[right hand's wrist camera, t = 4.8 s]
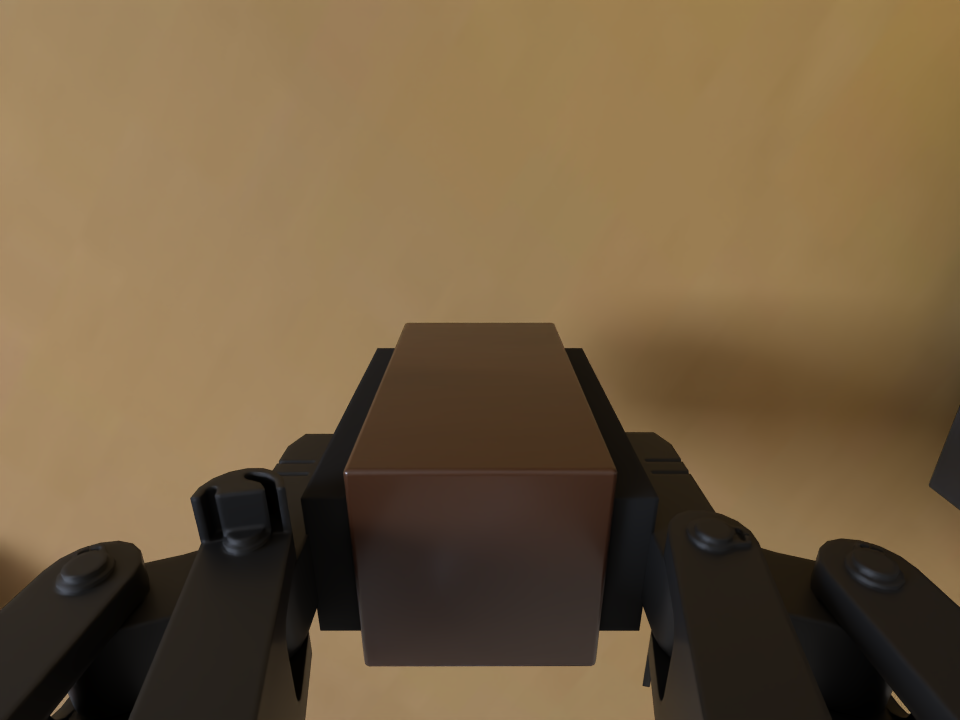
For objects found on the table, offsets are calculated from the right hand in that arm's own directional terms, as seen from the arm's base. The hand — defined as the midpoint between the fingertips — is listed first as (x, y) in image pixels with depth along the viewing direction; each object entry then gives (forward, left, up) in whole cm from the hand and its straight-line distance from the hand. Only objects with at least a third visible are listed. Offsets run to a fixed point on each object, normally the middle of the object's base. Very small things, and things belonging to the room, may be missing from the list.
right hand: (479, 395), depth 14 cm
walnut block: (0, 0, 0) cm, 0 cm away
